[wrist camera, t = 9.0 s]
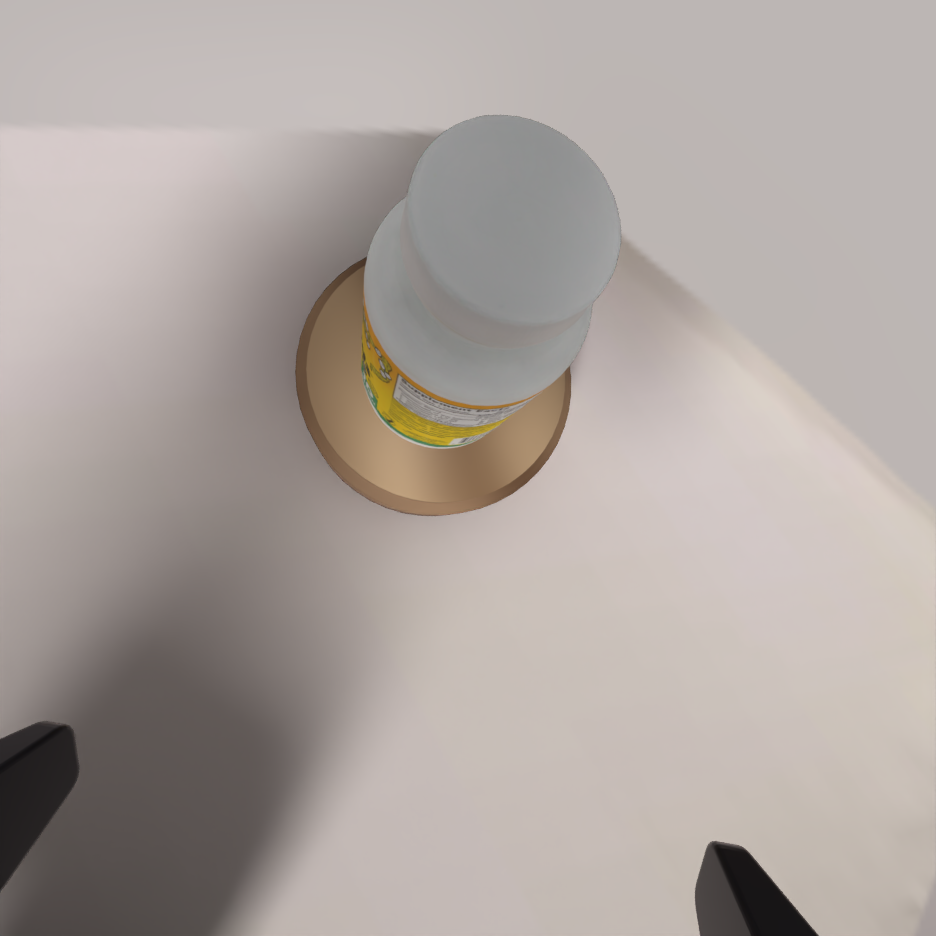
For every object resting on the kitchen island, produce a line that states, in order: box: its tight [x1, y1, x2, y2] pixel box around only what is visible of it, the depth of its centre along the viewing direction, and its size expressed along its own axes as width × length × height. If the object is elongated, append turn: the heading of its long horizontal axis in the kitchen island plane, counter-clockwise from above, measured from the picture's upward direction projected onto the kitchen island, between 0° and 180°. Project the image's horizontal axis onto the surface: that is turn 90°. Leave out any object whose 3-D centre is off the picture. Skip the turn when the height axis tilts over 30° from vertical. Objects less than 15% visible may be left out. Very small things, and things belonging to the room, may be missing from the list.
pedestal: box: [295, 257, 571, 516], centre depth 20 cm, size 10×10×3 cm
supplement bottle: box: [361, 115, 621, 449], centre depth 14 cm, size 5×5×10 cm
